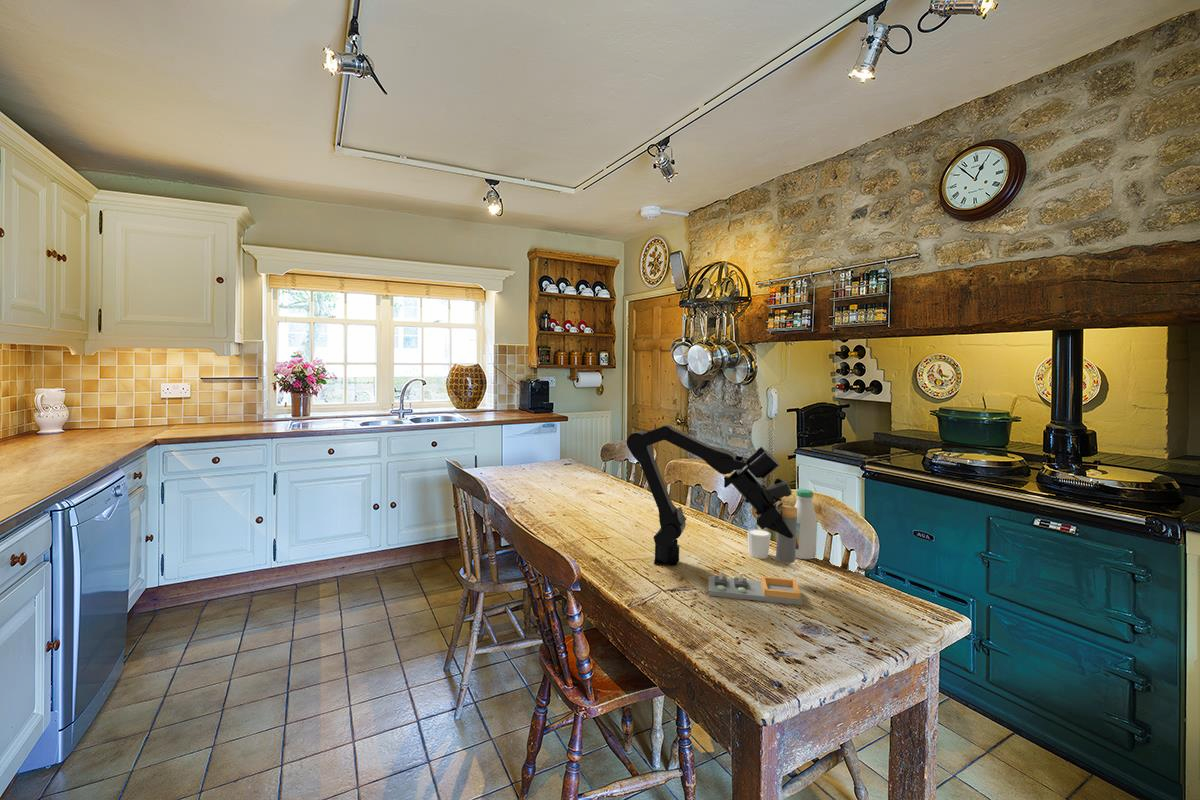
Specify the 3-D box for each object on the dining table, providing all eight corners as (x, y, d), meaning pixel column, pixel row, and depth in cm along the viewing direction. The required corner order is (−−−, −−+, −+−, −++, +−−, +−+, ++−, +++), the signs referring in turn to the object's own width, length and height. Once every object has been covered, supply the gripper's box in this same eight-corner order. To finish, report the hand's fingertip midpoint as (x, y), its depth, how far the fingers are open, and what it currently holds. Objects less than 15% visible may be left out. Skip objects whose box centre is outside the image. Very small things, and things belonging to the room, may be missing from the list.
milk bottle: (814, 552, 158) (817, 488, 156) (816, 561, 150) (819, 494, 149) (788, 549, 160) (790, 486, 159) (788, 558, 153) (791, 492, 152)
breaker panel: (708, 595, 127) (709, 579, 127) (708, 580, 136) (708, 565, 136) (802, 605, 123) (803, 588, 123) (795, 589, 132) (796, 573, 131)
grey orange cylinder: (777, 561, 135) (779, 509, 134) (774, 555, 140) (777, 504, 139) (796, 563, 134) (798, 511, 133) (793, 556, 139) (795, 506, 138)
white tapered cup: (771, 560, 151) (772, 537, 150) (747, 558, 152) (748, 535, 152) (768, 552, 158) (769, 529, 157) (745, 550, 159) (746, 528, 159)
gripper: (772, 477, 128) (818, 526, 125) (774, 464, 145) (814, 506, 142) (738, 504, 131) (782, 553, 128) (745, 488, 149) (783, 530, 146)
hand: (792, 534), depth 136 cm, fingers closed on grey orange cylinder, 5 cm apart
